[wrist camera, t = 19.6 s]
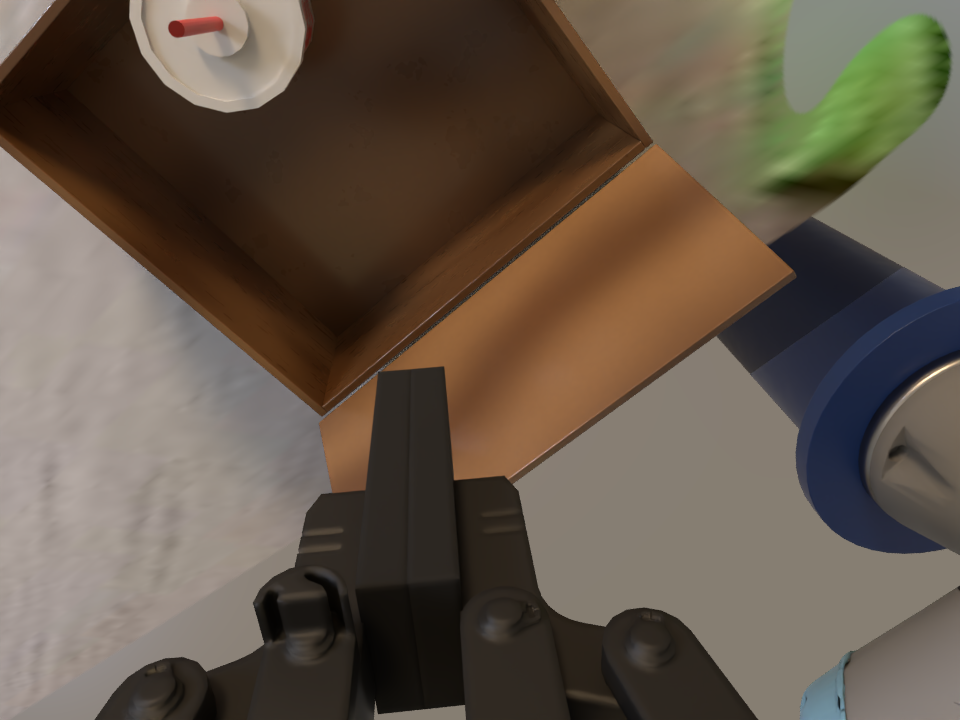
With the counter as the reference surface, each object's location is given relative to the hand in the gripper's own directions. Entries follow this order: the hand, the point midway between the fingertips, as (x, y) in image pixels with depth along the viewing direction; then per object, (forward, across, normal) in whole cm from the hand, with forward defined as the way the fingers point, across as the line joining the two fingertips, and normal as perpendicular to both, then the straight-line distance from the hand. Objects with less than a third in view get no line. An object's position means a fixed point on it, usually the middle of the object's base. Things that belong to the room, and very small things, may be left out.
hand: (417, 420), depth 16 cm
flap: (+11, +3, -4) cm, 12 cm away
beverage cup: (+24, -6, +8) cm, 26 cm away
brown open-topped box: (+24, -3, +4) cm, 25 cm away
